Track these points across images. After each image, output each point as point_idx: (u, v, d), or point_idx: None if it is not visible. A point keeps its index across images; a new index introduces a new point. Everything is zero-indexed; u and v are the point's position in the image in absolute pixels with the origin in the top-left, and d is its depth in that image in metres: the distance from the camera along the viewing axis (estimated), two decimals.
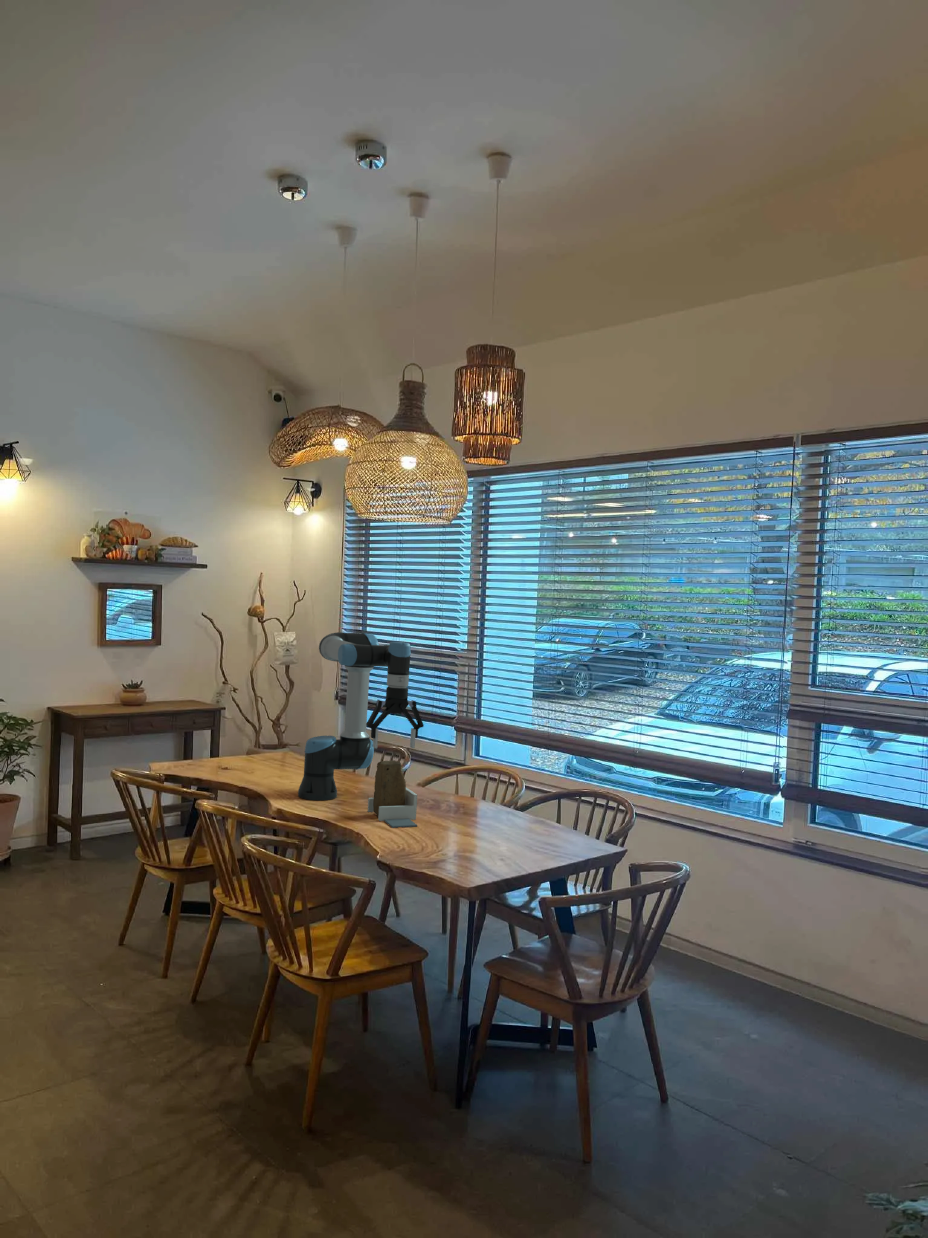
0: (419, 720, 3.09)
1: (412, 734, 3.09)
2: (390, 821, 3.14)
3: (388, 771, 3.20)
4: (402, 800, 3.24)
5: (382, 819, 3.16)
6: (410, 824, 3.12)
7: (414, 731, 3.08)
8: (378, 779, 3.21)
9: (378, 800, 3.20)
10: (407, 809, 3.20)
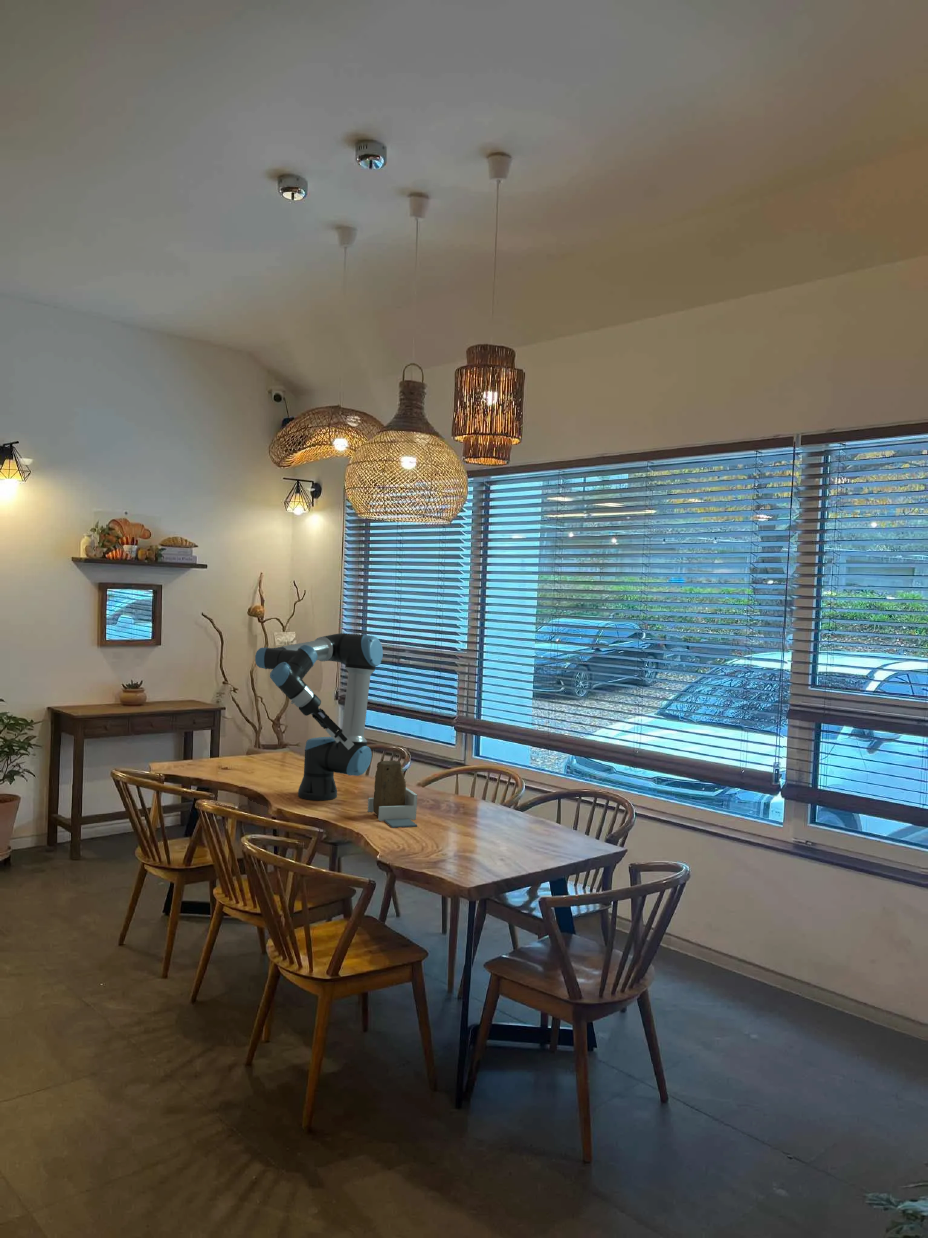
0: (332, 730, 3.01)
1: None
2: (390, 821, 3.14)
3: (388, 771, 3.20)
4: (402, 800, 3.24)
5: (382, 819, 3.16)
6: (410, 824, 3.12)
7: (337, 737, 3.03)
8: (378, 779, 3.21)
9: (378, 800, 3.20)
10: (407, 809, 3.20)
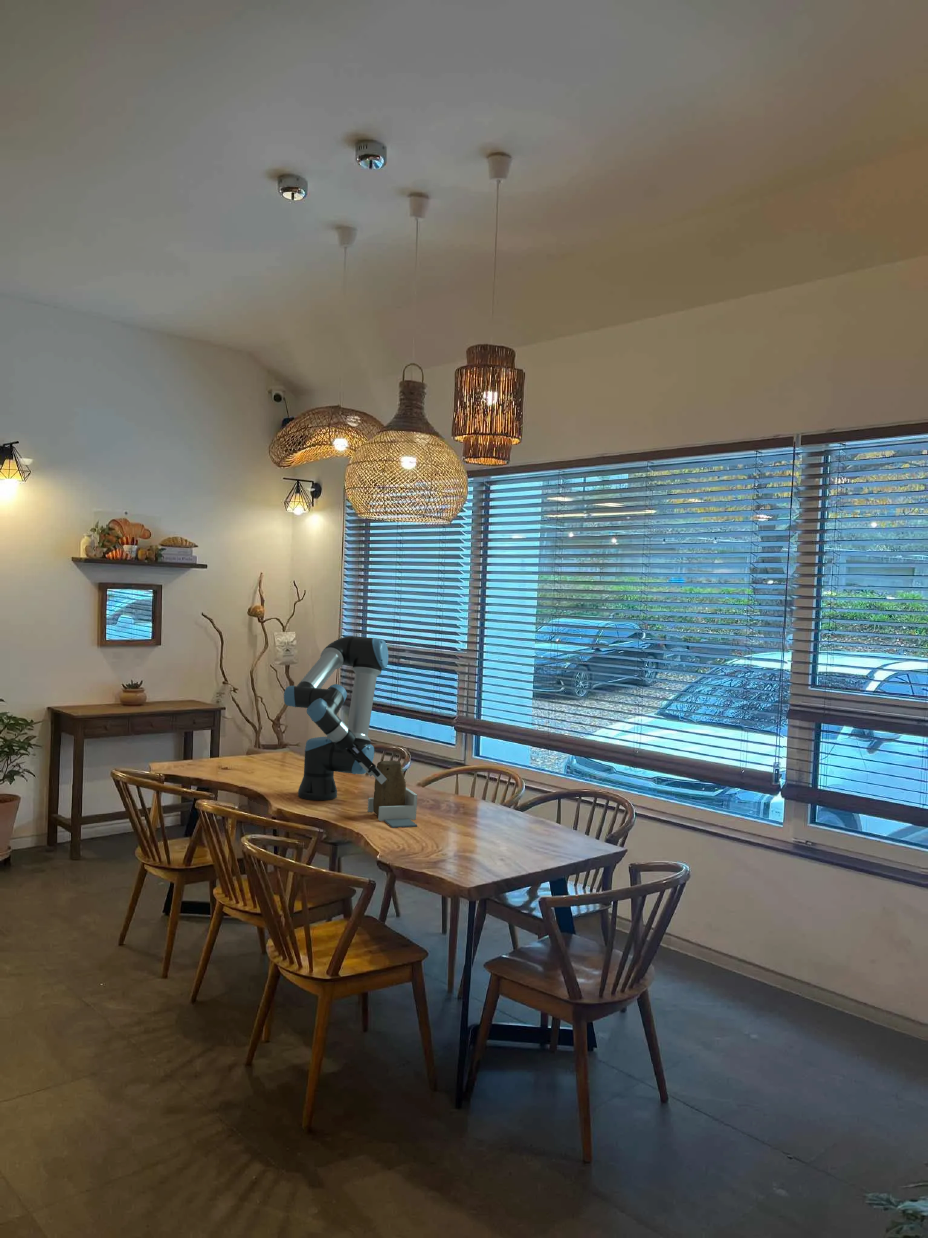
0: (365, 765, 3.10)
1: None
2: (390, 821, 3.14)
3: (388, 771, 3.20)
4: (402, 800, 3.24)
5: (382, 819, 3.16)
6: (410, 824, 3.12)
7: (370, 772, 3.13)
8: None
9: (378, 800, 3.20)
10: (407, 809, 3.20)
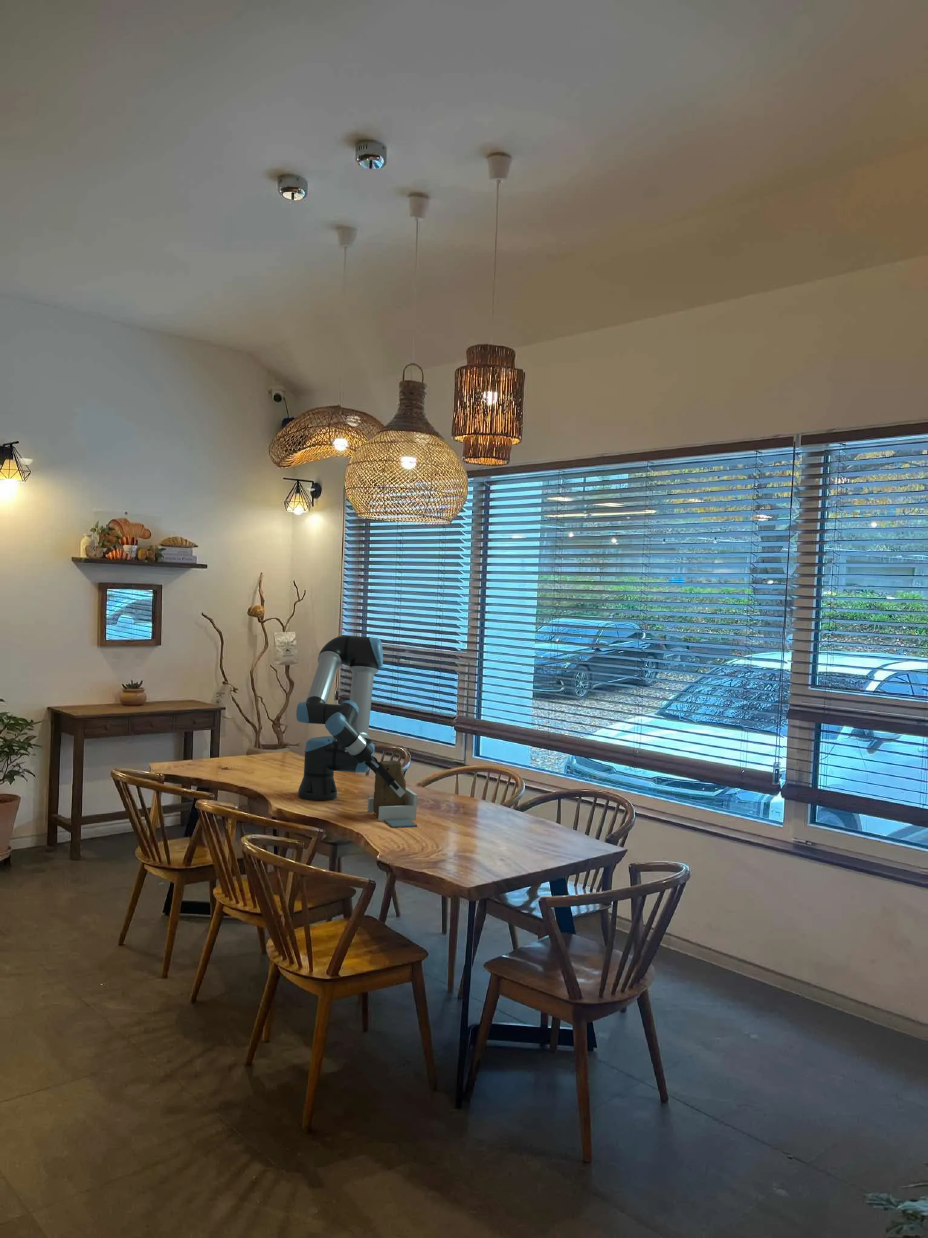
0: (385, 779, 3.17)
1: None
2: (390, 821, 3.14)
3: (388, 771, 3.20)
4: (402, 800, 3.24)
5: (382, 819, 3.16)
6: (410, 824, 3.12)
7: None
8: (378, 779, 3.21)
9: (378, 800, 3.20)
10: (407, 809, 3.20)
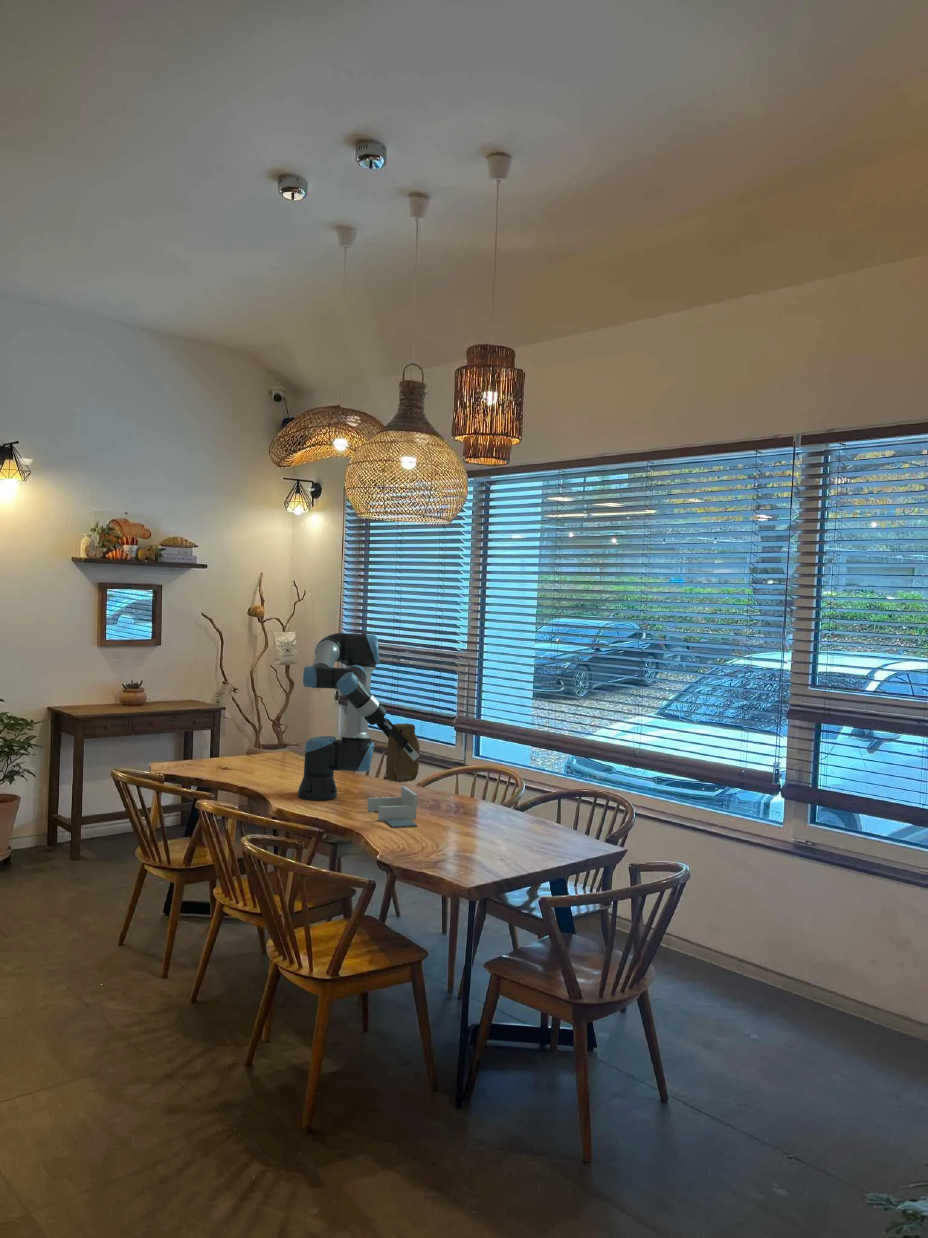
0: (398, 741, 3.06)
1: None
2: (390, 821, 3.14)
3: (401, 733, 3.09)
4: (416, 764, 3.12)
5: (382, 819, 3.16)
6: (410, 824, 3.12)
7: (403, 749, 3.09)
8: (391, 742, 3.10)
9: (391, 763, 3.09)
10: (407, 809, 3.20)
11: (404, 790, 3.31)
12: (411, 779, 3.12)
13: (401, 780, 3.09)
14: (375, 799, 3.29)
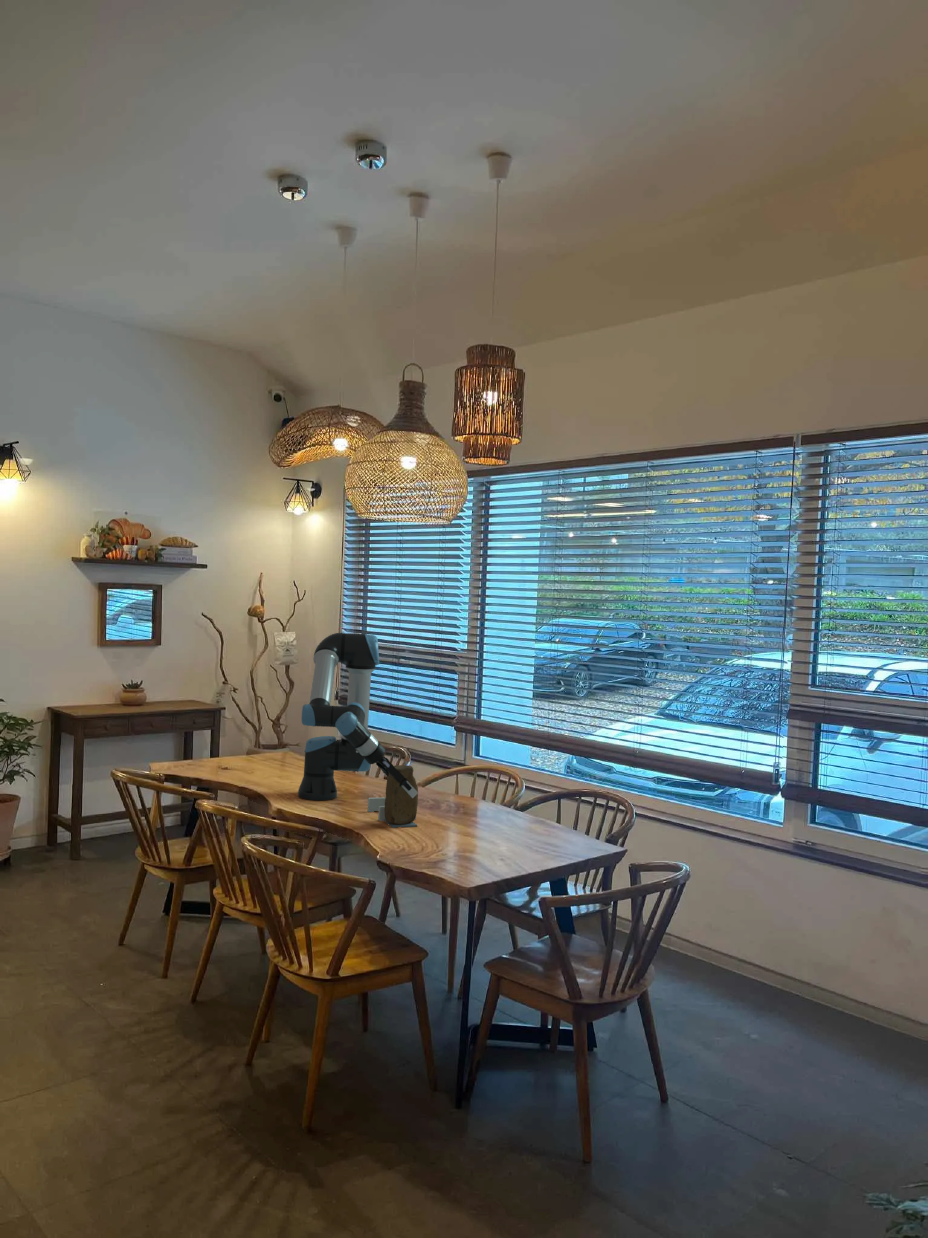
0: (396, 779, 3.04)
1: None
2: None
3: None
4: (414, 806, 3.13)
5: (382, 819, 3.16)
6: (410, 824, 3.12)
7: None
8: (390, 785, 3.11)
9: (389, 806, 3.10)
10: None
11: None
12: (409, 821, 3.13)
13: (399, 822, 3.10)
14: (375, 799, 3.29)
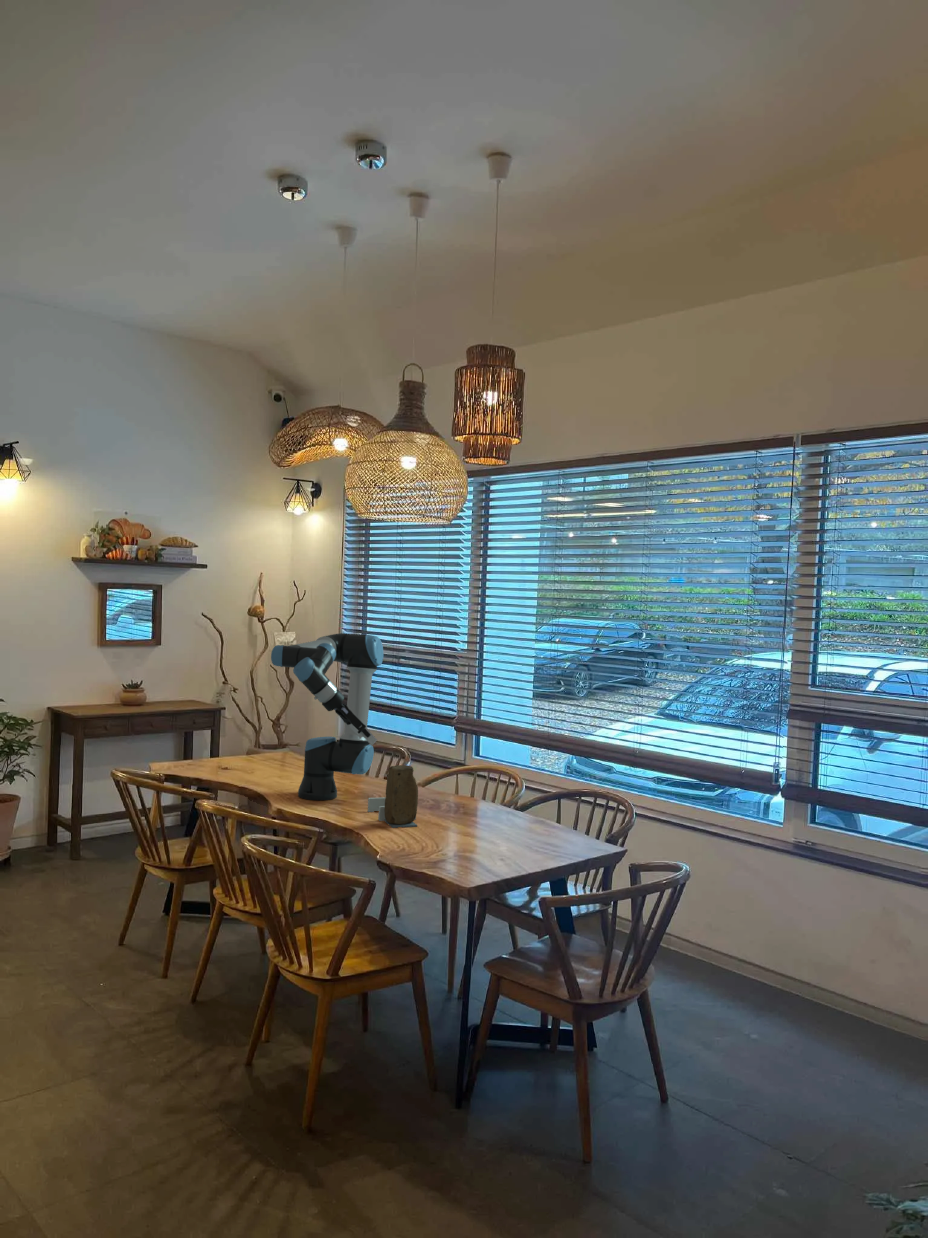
0: (355, 726, 3.00)
1: None
2: None
3: (399, 776, 3.09)
4: (414, 806, 3.13)
5: (382, 819, 3.16)
6: (410, 824, 3.12)
7: (360, 733, 3.03)
8: (390, 785, 3.11)
9: (389, 806, 3.10)
10: None
11: None
12: (409, 821, 3.13)
13: (399, 823, 3.10)
14: (375, 799, 3.29)
